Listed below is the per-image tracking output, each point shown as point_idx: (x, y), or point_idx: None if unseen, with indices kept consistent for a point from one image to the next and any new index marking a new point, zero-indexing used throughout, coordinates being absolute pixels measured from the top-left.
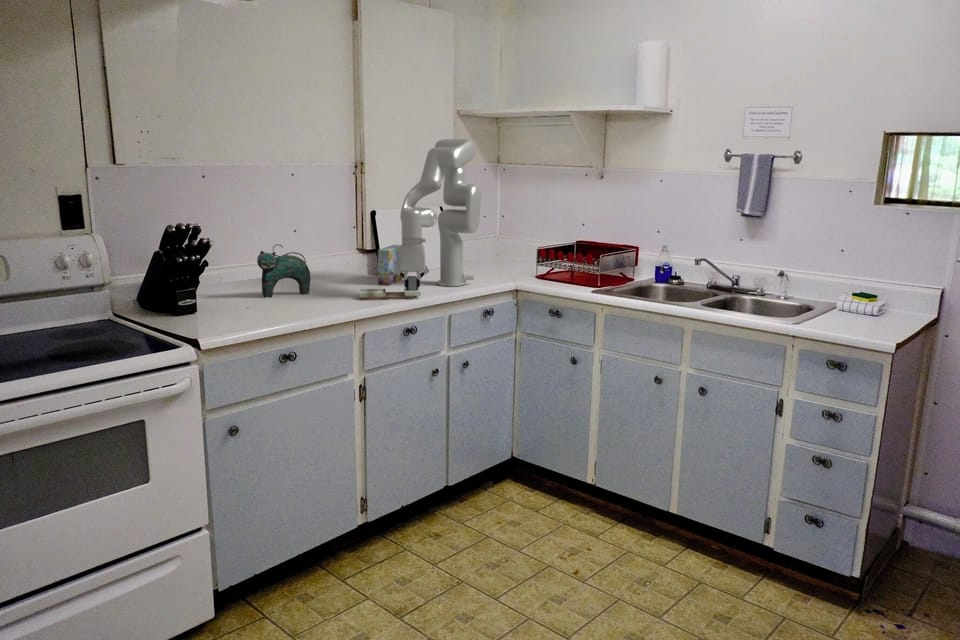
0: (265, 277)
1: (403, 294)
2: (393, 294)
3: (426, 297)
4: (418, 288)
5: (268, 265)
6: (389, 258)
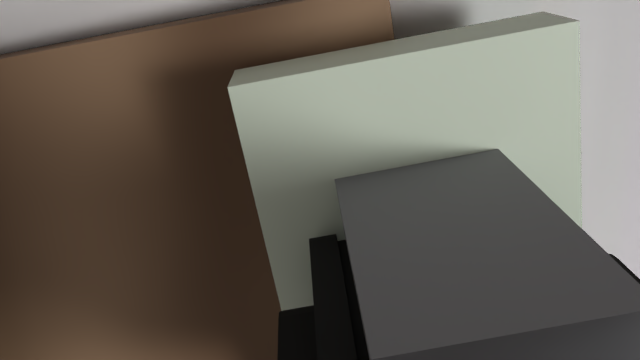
0: None
1: (268, 284)
2: (99, 301)
3: (624, 248)
4: (558, 122)
5: None
6: None
